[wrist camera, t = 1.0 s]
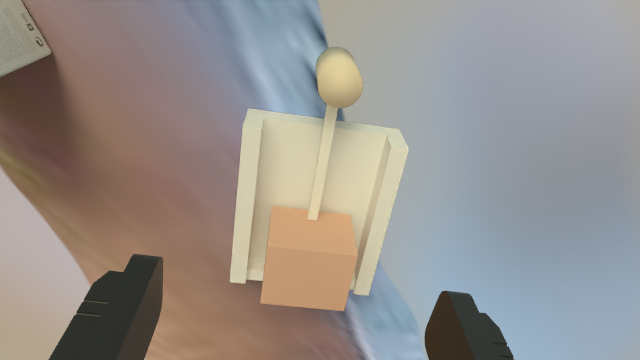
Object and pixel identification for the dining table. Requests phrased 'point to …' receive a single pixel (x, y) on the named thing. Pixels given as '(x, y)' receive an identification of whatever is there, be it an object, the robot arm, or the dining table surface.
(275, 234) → the peach block with knob
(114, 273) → the robot arm
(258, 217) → the shelf lane
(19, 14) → the skincare box
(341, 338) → the dining table surface
